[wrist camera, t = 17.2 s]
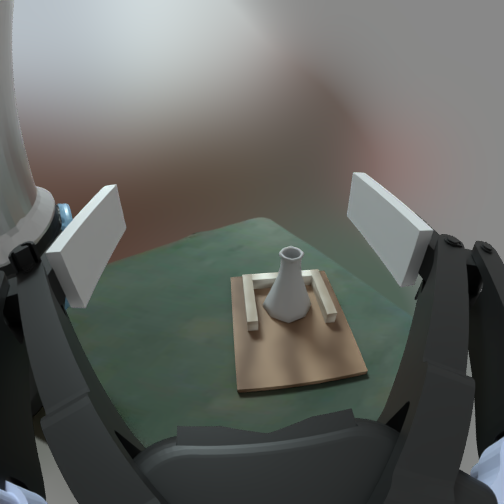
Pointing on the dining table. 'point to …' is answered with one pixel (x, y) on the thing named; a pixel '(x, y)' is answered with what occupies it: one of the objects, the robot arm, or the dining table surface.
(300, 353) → the nook board
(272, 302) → the flask
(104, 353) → the dining table surface
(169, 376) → the dining table surface
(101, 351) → the dining table surface
